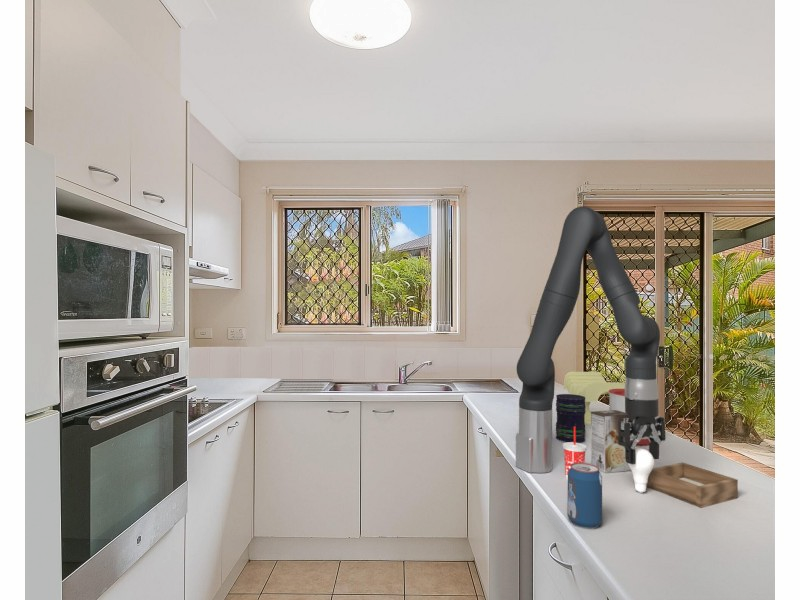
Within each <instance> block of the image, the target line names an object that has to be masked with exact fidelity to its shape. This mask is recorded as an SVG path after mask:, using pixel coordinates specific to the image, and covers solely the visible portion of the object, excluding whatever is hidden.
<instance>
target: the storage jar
mask: <svg viewBox="0 0 800 600" xmlns="http://www.w3.org/2000/svg"><path fill="white" fill-rule="evenodd" d="M555 396H556V397H555V398H556V400H555V402H556V403H555V412H556V422H555V434H556V436H555V439H556V440H558V441H559V442H564V443H566V442H574V426H575V427H576V443H581V444H583V443H584V442H586V438H585V437H586V423H585V412H586V411H585V408H586V405H585V397H584V396H580V395H573V394H569V393H562V394H556V395H555Z"/></svg>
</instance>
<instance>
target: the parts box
mask: <svg viewBox="0 0 800 600" xmlns="http://www.w3.org/2000/svg"><path fill="white" fill-rule="evenodd" d="M738 480H739V479H736V478H733V477H730V476H727V475H724V474H721V473H718V472H715V471H712V470H707V469H704V468H702V467H698V466H696V465H691V464H689V463H686V462H678V463H673V464H668V465H663V466H659V467H658V466H657V467H653V469H652V471H651V472H650V474H649V476H648V482H647V484H646V488H648V489H649V488H650V489H652V490H655V491H657V492H658V493H662V494H664V495H667V496H669V497H673V498H674V499H678V500H680V501H683V502H685V503H688V504H690V505H693V506H695V507H699V508H704V507H708V506H713V505H717V504H720V503H723V502H728V501H731V500H736V499H738V498H739V497H738V496H739V495H738V493H739V492H738V490H739V489H738V485H739V484H738V483H739V482H738Z"/></svg>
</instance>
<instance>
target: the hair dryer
mask: <svg viewBox="0 0 800 600" xmlns="http://www.w3.org/2000/svg"><path fill="white" fill-rule="evenodd" d="M563 389H566V390H567V391H568V394H573V395H580V396H584V397H585V405H586V408H585V411H586V412H585V424H590V425H591V412H592V410H591V411H590V404H591V403H598V400H599V398H600V397H601V395H609V390H611V389H625V382H608V381H606V380H605V378H604V376H603V374H602V372H601V371H568V372H567V373H566V374H565V375H564V378H563Z"/></svg>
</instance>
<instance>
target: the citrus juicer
mask: <svg viewBox="0 0 800 600" xmlns="http://www.w3.org/2000/svg"><path fill="white" fill-rule="evenodd" d="M608 395H609V397H608V398H609V399H608V400H609V404H608V405H609V410H608V411H611V410H617V411H621V412H625V389H611V390H609V394H608ZM632 436H634V435H633V434H632ZM649 443H651V442H650V441H649V440H648V438H647V437H644V438H641V440H640V441H639V442H637V444H636V446H637V445H640V446H641V445H643V446H649Z"/></svg>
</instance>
